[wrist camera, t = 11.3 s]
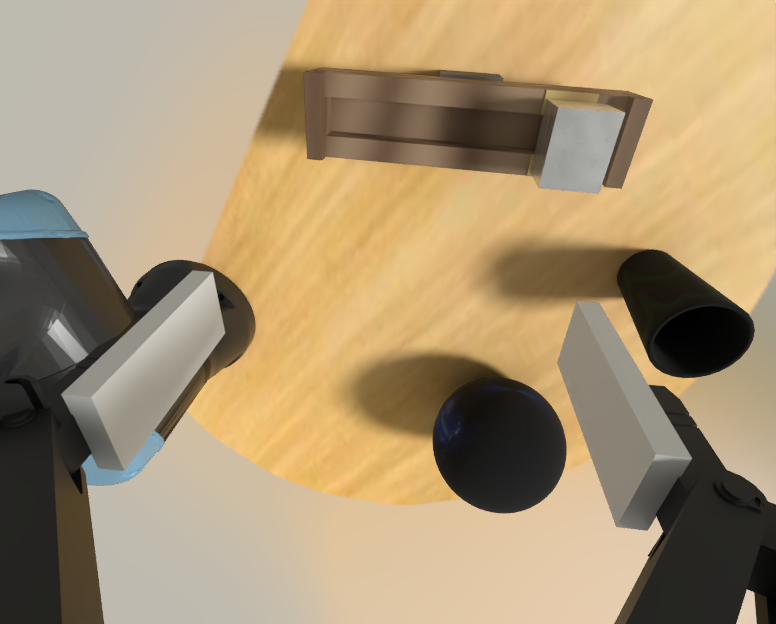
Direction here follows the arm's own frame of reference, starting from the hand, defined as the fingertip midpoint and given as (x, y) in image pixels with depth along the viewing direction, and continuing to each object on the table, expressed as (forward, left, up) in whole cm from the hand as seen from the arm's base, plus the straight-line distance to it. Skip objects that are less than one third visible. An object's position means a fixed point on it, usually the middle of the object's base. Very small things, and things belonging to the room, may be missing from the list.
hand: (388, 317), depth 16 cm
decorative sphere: (+12, -31, -30) cm, 45 cm away
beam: (+3, +3, -30) cm, 30 cm away
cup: (+24, -11, -30) cm, 40 cm away
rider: (+10, +3, -24) cm, 26 cm away
